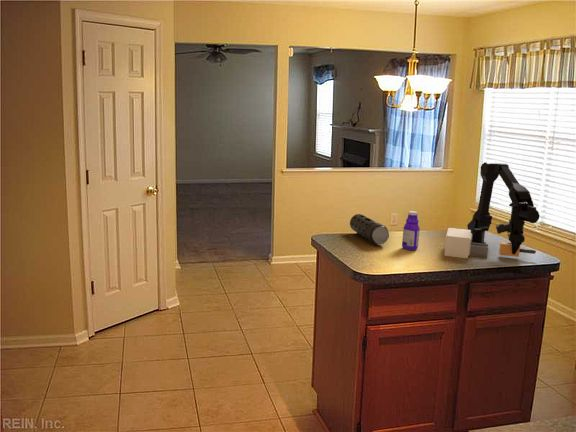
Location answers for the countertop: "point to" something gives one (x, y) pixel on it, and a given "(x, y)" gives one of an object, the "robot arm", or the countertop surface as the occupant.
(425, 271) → the countertop surface
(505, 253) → the plug
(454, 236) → the socket box
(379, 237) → the muzzle brake
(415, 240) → the bottle
